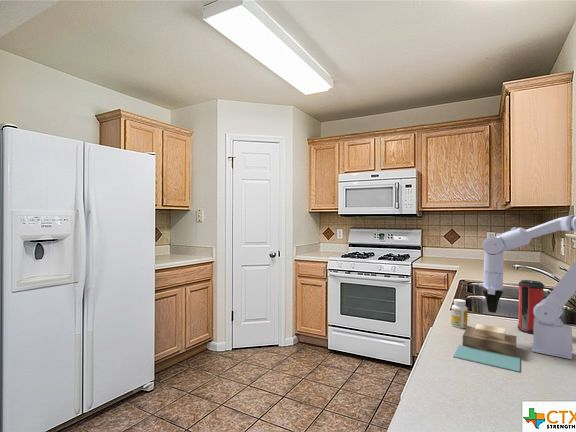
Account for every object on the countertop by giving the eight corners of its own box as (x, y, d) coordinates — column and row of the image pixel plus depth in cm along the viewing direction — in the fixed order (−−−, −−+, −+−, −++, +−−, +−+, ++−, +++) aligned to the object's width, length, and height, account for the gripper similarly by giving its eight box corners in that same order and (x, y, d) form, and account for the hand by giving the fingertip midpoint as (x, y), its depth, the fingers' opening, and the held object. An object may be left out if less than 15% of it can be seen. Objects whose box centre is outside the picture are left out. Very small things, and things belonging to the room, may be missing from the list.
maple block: (505, 334, 110) (505, 328, 110) (504, 340, 105) (504, 333, 105) (476, 329, 114) (476, 323, 114) (474, 334, 109) (474, 328, 109)
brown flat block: (516, 347, 109) (516, 336, 109) (515, 357, 100) (516, 345, 100) (466, 337, 117) (467, 327, 117) (462, 346, 108) (462, 335, 108)
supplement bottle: (463, 324, 131) (464, 298, 131) (469, 328, 126) (470, 302, 126) (449, 323, 132) (449, 298, 132) (454, 328, 126) (455, 301, 126)
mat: (519, 358, 100) (519, 357, 100) (519, 372, 91) (519, 371, 91) (459, 345, 109) (459, 344, 109) (453, 357, 100) (453, 356, 100)
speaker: (543, 336, 119) (544, 284, 119) (516, 331, 124) (518, 281, 124) (543, 330, 125) (544, 281, 125) (518, 326, 130) (519, 278, 130)
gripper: (481, 268, 125) (480, 305, 125) (477, 273, 113) (476, 314, 113) (504, 270, 121) (503, 308, 121) (502, 276, 109) (501, 318, 109)
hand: (492, 311), depth 117 cm, fingers closed
